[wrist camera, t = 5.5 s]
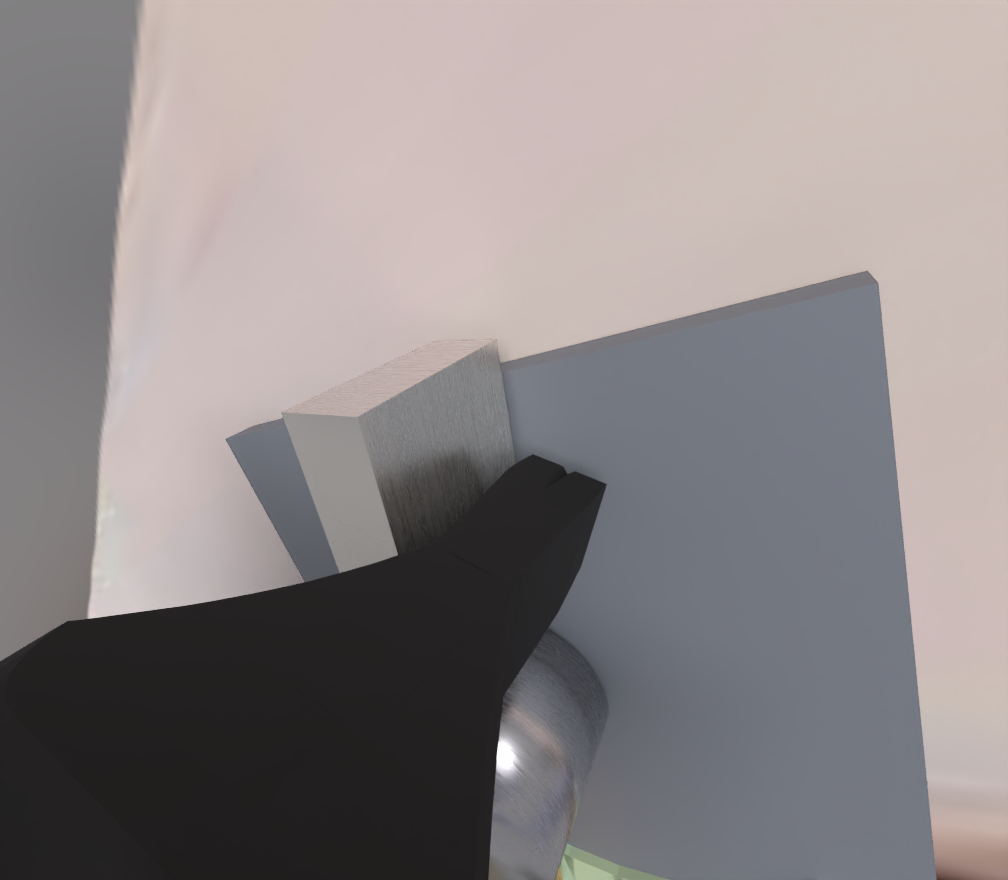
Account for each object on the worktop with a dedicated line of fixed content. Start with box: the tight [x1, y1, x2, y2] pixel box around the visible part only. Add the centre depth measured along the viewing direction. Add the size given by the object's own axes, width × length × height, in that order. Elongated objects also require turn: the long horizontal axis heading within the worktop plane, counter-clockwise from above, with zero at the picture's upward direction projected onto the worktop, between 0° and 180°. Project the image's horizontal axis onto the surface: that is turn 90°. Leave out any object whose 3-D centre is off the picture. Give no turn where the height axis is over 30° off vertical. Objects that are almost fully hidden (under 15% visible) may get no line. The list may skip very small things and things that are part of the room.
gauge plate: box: [226, 271, 936, 880], centre depth 14 cm, size 20×16×1 cm
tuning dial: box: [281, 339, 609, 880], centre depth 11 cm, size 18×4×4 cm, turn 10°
